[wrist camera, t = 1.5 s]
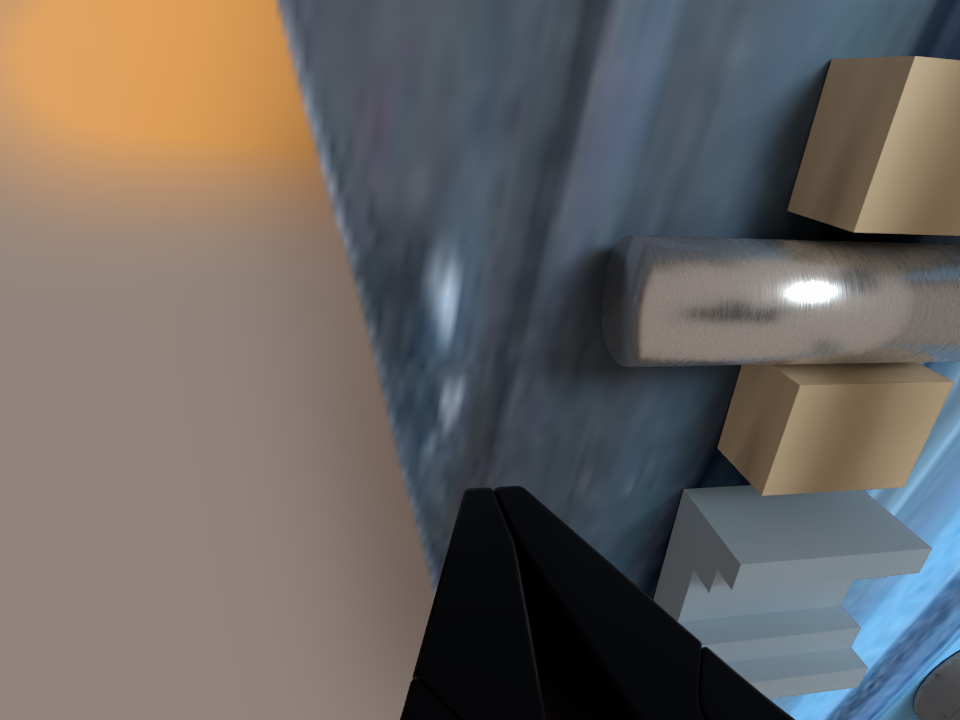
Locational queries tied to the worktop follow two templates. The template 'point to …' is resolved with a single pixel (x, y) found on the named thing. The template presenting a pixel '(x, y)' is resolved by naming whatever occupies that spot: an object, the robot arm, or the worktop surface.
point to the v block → (780, 580)
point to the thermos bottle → (940, 692)
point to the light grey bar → (779, 302)
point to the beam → (861, 209)
